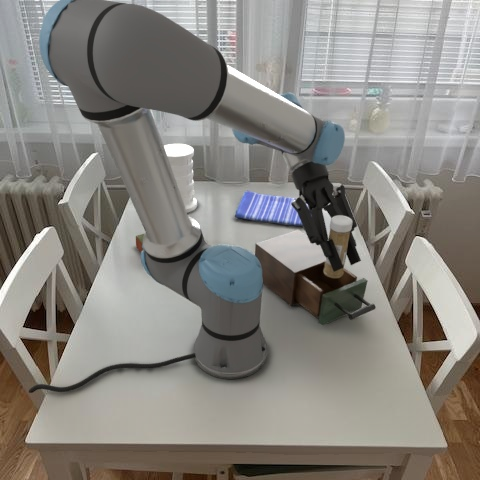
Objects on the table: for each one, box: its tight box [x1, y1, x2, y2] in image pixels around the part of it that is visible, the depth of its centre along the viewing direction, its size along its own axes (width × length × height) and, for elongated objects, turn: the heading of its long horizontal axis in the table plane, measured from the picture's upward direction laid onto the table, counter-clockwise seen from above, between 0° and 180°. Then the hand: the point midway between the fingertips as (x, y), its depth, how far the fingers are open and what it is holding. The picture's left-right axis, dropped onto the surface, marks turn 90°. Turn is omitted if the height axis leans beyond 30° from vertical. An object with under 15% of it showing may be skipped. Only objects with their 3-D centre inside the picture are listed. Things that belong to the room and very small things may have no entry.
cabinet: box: [254, 229, 326, 307], centre depth 122 cm, size 16×14×10 cm
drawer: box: [294, 264, 376, 326], centre depth 113 cm, size 20×12×8 cm, turn 34°
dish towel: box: [234, 190, 312, 227], centre depth 155 cm, size 17×24×3 cm
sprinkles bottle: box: [323, 215, 353, 278], centre depth 106 cm, size 5×5×14 cm
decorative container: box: [163, 143, 198, 214], centre depth 152 cm, size 12×12×18 cm
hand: (347, 266), depth 105 cm, fingers closed on sprinkles bottle, 4 cm apart
